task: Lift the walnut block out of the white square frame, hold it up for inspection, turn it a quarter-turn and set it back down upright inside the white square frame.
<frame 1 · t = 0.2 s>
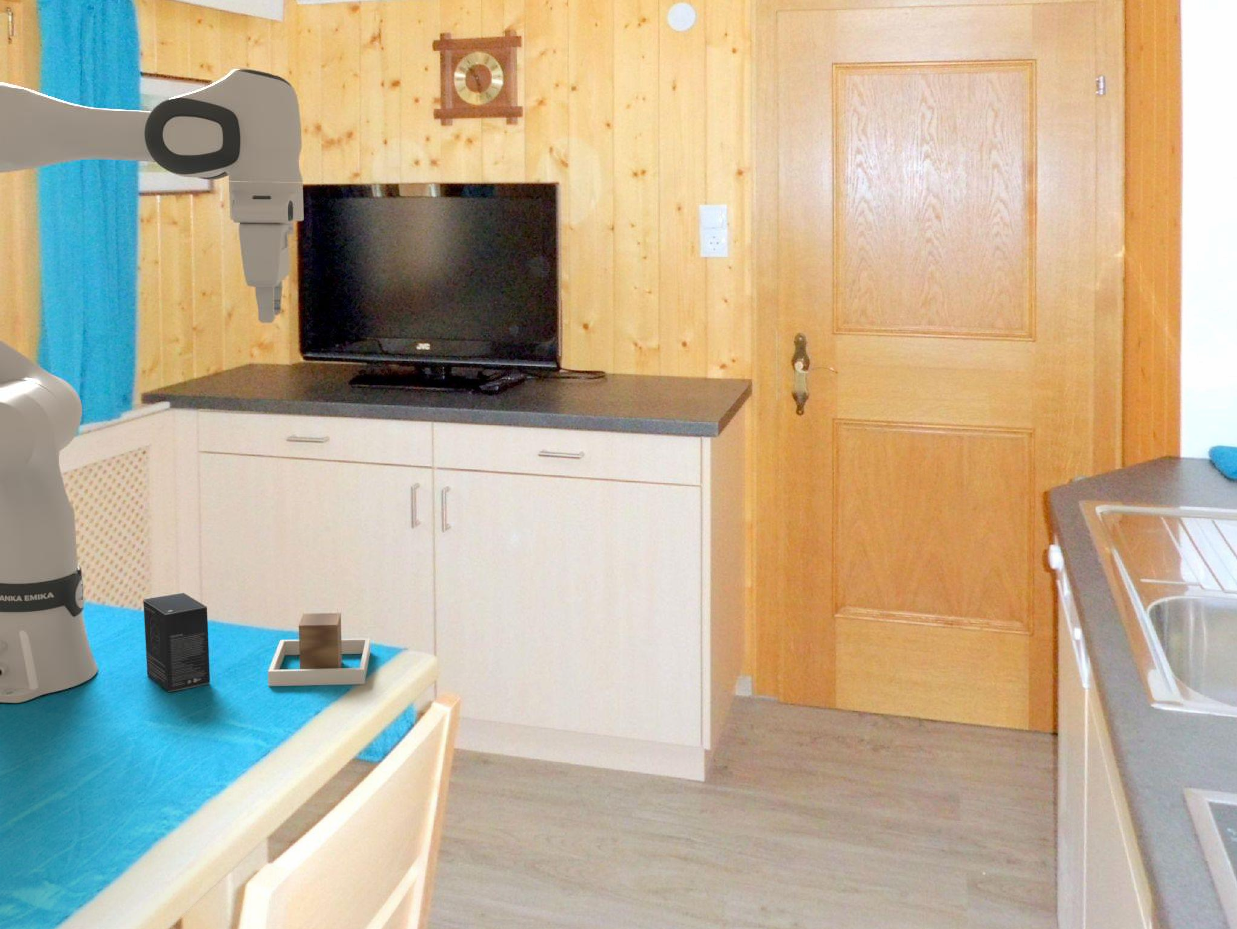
hand: (270, 318, 168), 47 cm above the table, fingers open, 8 cm apart
white square frame: (321, 668, 179), on the table
walnut block: (320, 644, 179), in the white square frame
box: (178, 681, 174), on the table
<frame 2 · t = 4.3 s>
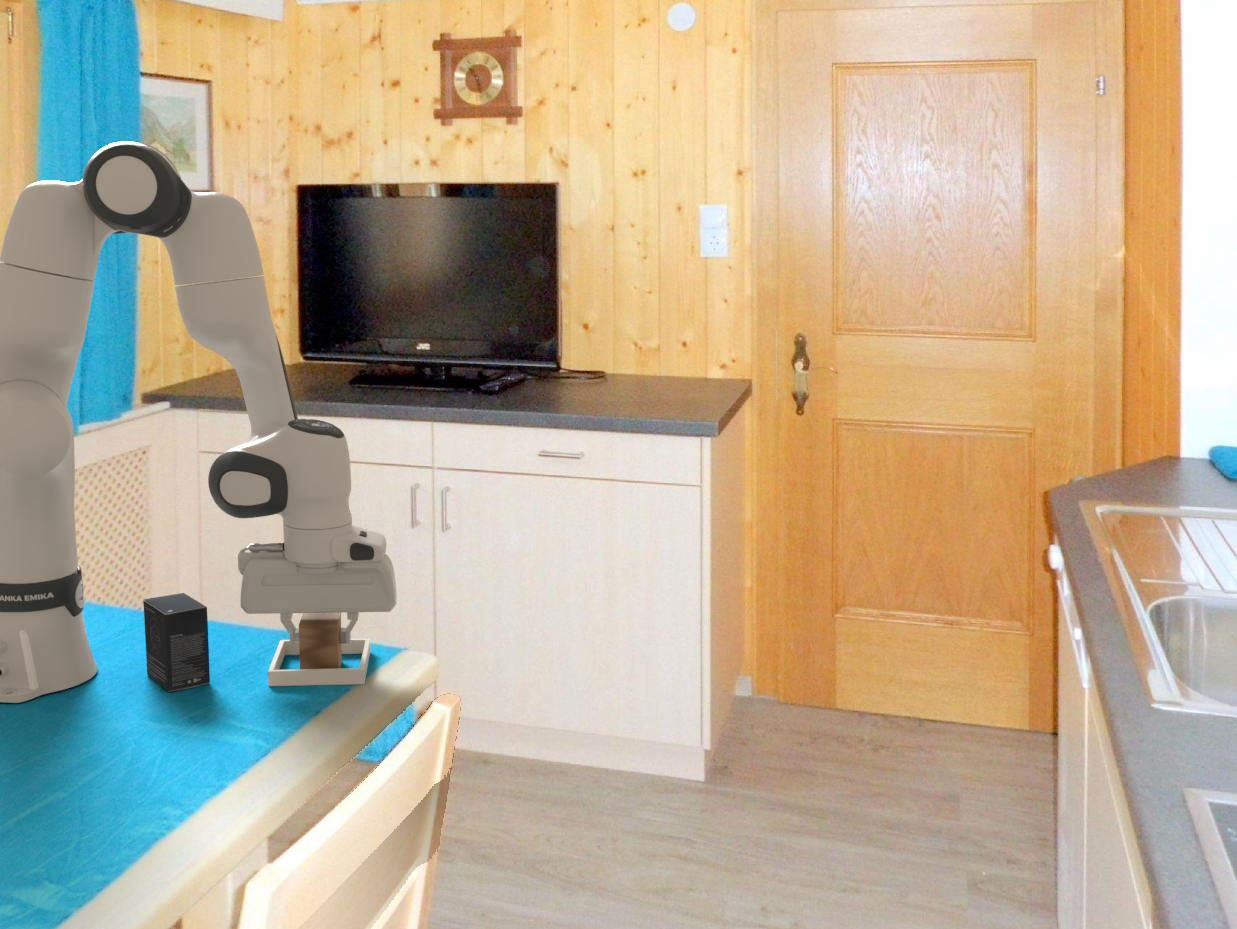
hand: (320, 642, 179), 4 cm above the table, fingers closed on walnut block, 5 cm apart
walnut block: (320, 643, 179), in the white square frame, touching gripper
everything else where it was.
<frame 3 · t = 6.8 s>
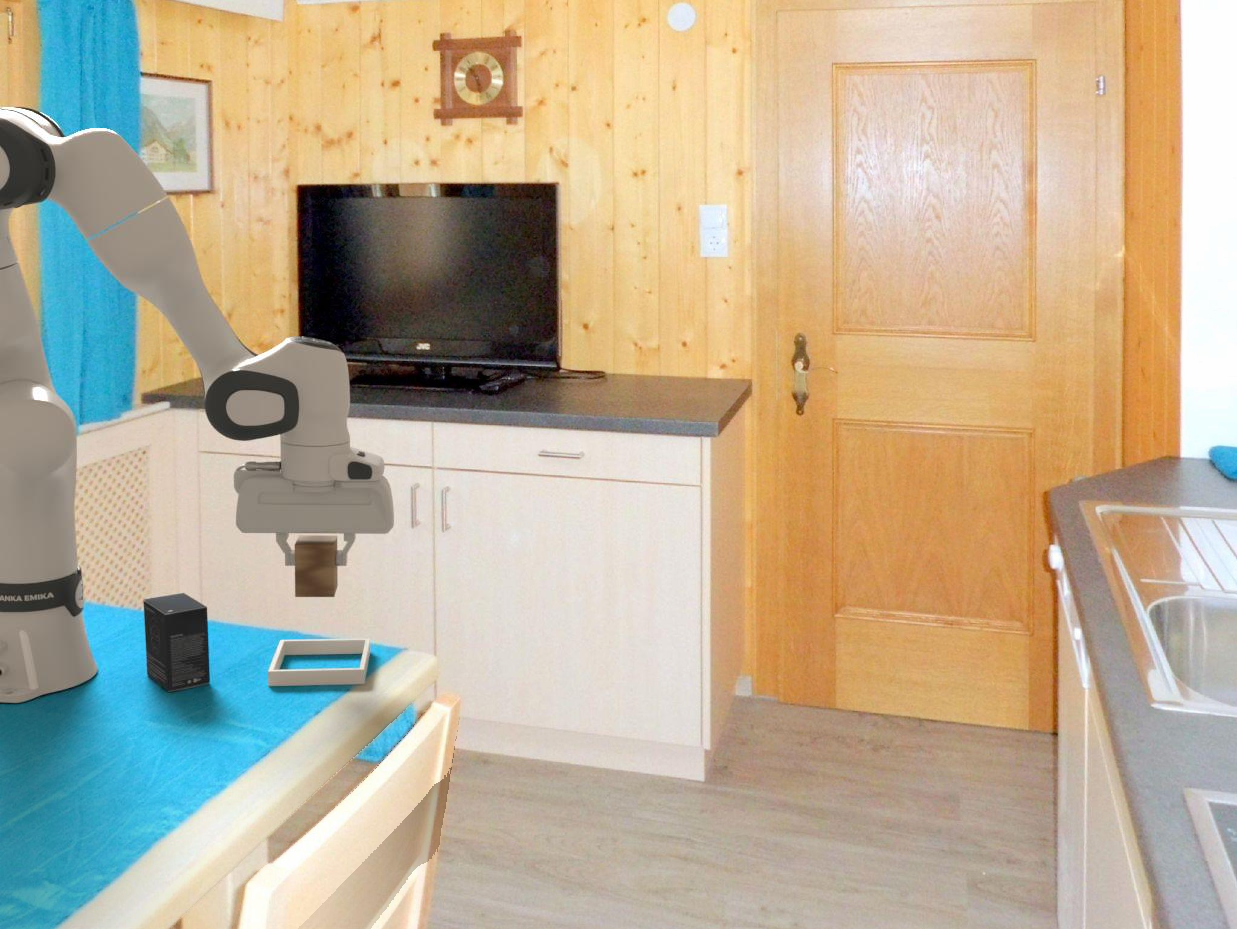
hand: (316, 564, 176), 14 cm above the table, fingers closed on walnut block, 5 cm apart
walnut block: (316, 565, 176), point 14 cm above the table, touching gripper
everything else where it was.
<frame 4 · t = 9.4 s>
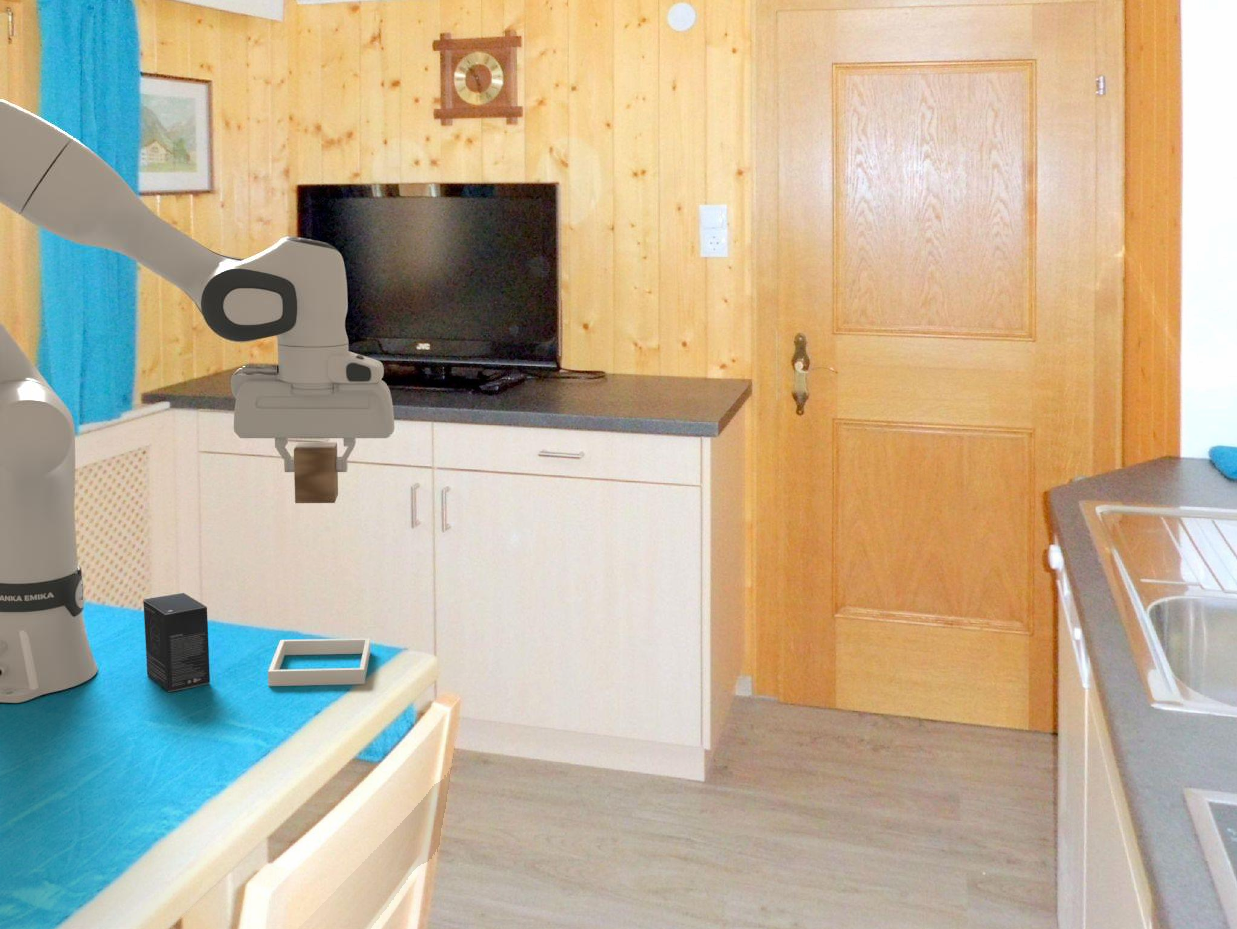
hand: (316, 471, 174), 27 cm above the table, fingers closed on walnut block, 5 cm apart
walnut block: (316, 472, 174), point 27 cm above the table, touching gripper
everything else where it was.
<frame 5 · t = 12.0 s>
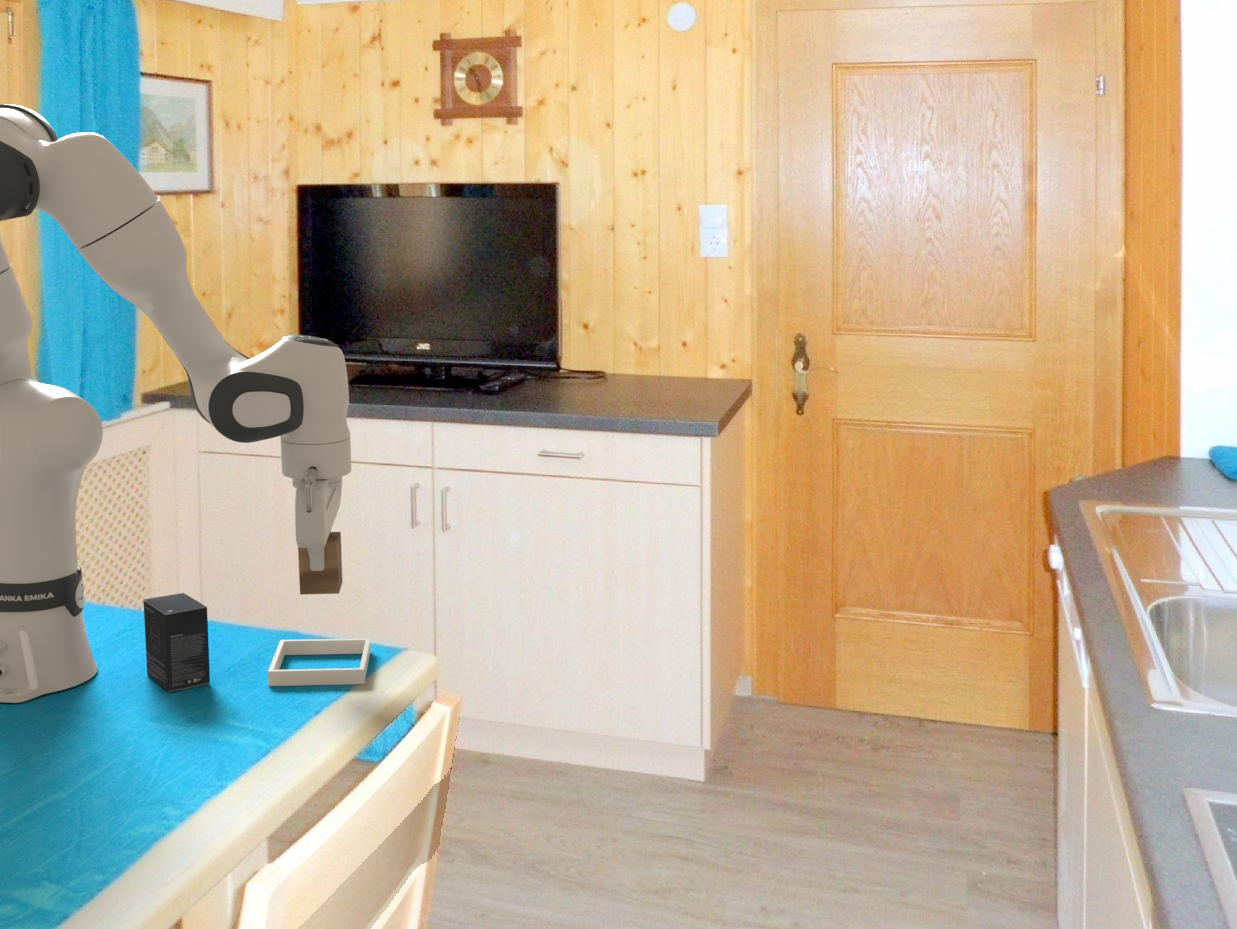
hand: (320, 562, 176), 15 cm above the table, fingers closed on walnut block, 5 cm apart
walnut block: (320, 562, 176), point 15 cm above the table, touching gripper
everything else where it was.
when the fingers open (5 cm above the table, at t = 14.4 s): walnut block drops 2 cm, resting in white square frame.
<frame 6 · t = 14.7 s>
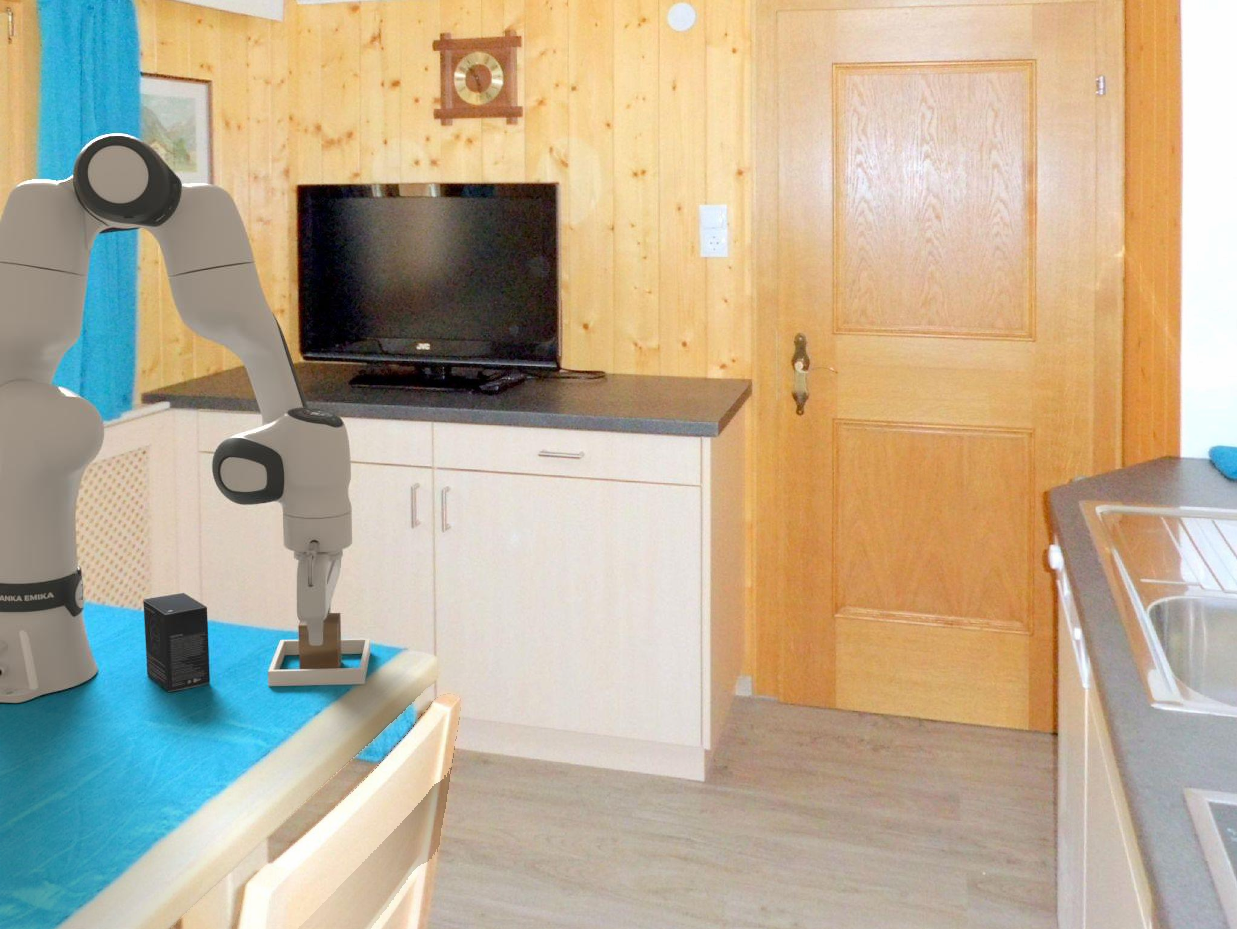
hand: (320, 632, 178), 5 cm above the table, fingers open, 8 cm apart
walnut block: (320, 644, 179), in the white square frame
everything else where it was.
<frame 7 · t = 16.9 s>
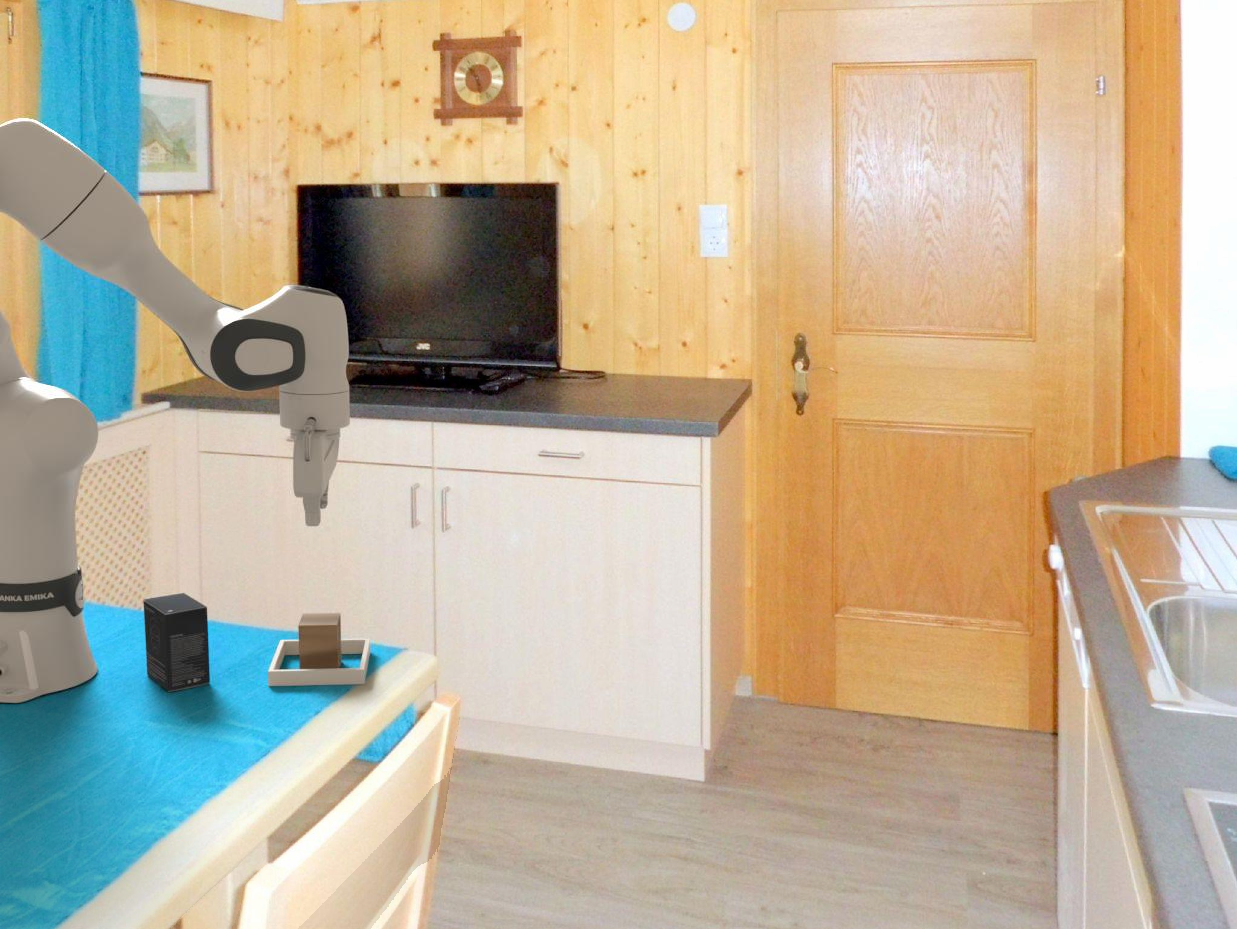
hand: (317, 516, 175), 21 cm above the table, fingers open, 8 cm apart
nothing on the table moved.
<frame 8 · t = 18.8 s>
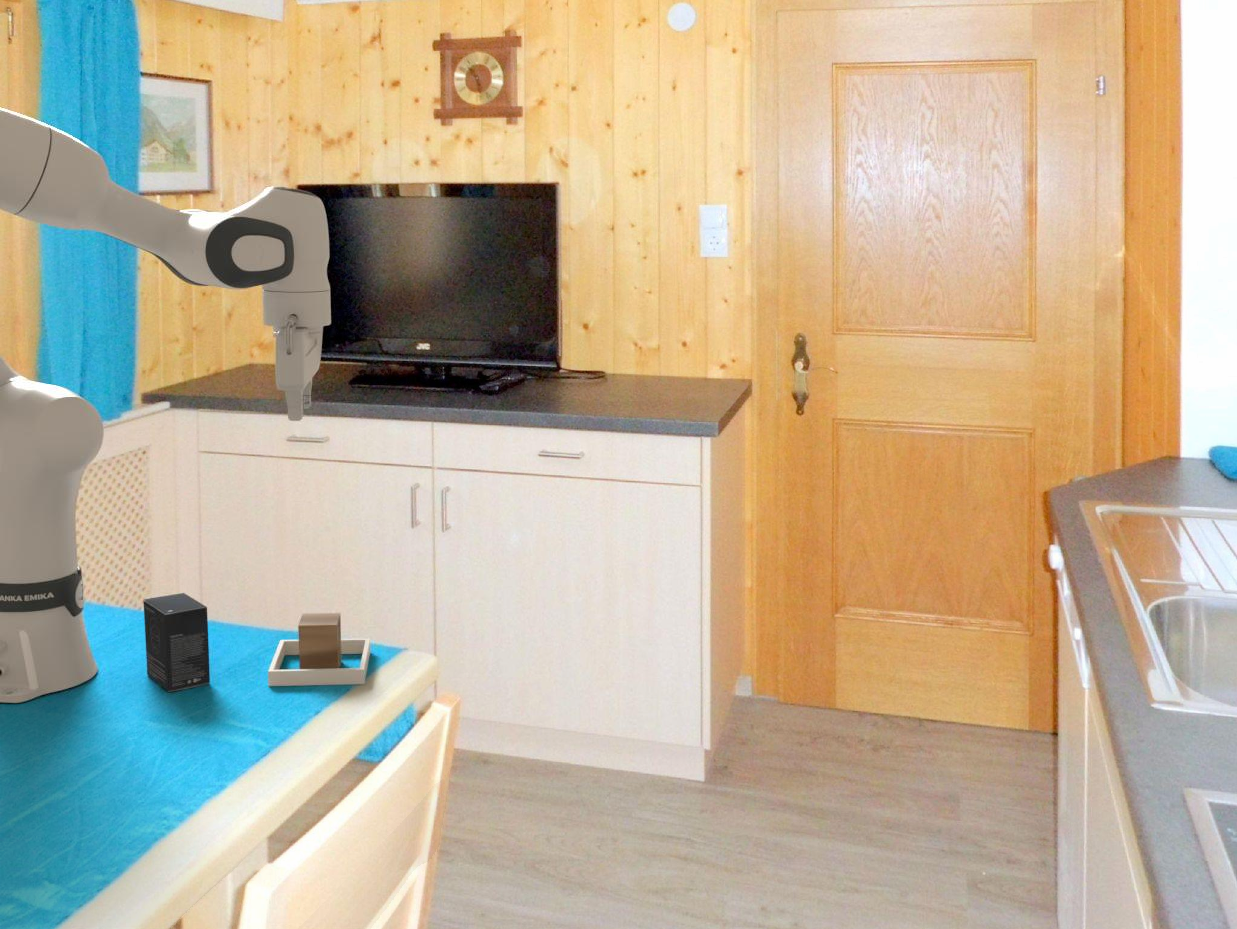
hand: (299, 414, 181), 33 cm above the table, fingers open, 8 cm apart
nothing on the table moved.
at the end: walnut block 0.1 cm off-centre on the white square frame, point 3.4 cm above the white square frame's base; walnut block tilted 0°; the gripper is holding nothing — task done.
